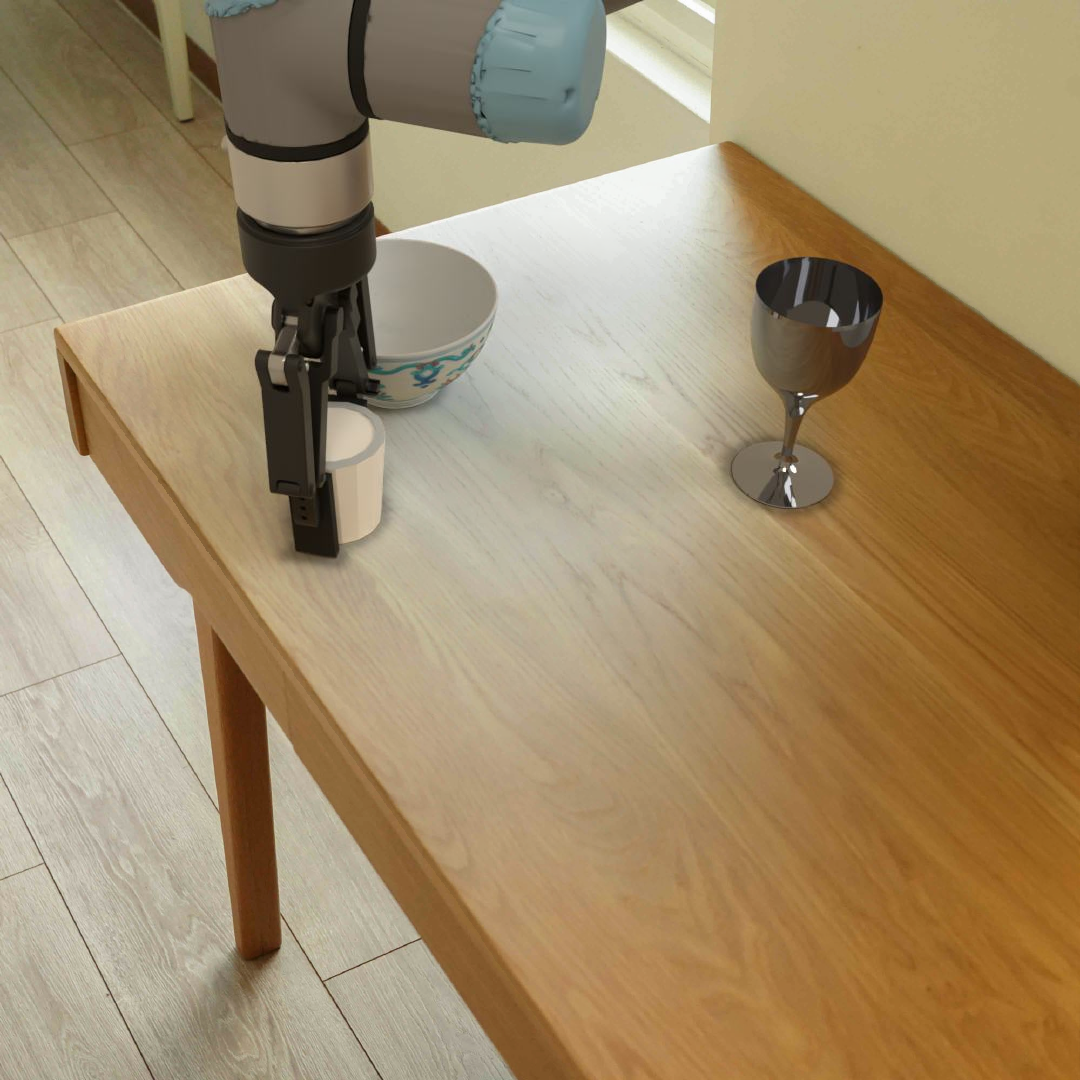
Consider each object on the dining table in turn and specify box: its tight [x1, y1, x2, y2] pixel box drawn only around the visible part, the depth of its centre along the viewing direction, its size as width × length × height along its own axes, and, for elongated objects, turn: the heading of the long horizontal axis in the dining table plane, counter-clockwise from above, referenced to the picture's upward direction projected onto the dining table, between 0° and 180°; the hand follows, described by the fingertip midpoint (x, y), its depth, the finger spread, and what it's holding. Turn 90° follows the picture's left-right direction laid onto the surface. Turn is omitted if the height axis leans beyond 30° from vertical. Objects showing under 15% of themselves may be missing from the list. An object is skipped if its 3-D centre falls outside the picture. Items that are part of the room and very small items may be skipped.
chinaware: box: [309, 238, 499, 410], centre depth 98 cm, size 15×15×8 cm
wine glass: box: [731, 256, 884, 509], centre depth 89 cm, size 8×8×15 cm
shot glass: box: [325, 402, 387, 545], centre depth 87 cm, size 7×7×7 cm
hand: (335, 511), depth 90 cm, fingers closed on shot glass, 7 cm apart
